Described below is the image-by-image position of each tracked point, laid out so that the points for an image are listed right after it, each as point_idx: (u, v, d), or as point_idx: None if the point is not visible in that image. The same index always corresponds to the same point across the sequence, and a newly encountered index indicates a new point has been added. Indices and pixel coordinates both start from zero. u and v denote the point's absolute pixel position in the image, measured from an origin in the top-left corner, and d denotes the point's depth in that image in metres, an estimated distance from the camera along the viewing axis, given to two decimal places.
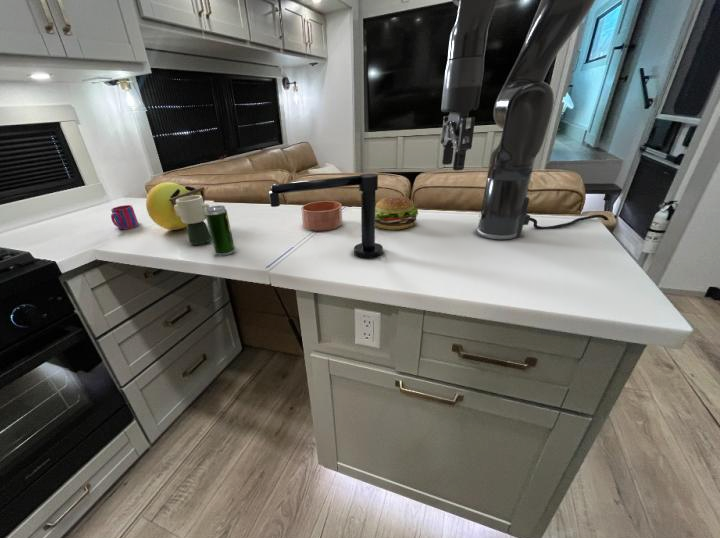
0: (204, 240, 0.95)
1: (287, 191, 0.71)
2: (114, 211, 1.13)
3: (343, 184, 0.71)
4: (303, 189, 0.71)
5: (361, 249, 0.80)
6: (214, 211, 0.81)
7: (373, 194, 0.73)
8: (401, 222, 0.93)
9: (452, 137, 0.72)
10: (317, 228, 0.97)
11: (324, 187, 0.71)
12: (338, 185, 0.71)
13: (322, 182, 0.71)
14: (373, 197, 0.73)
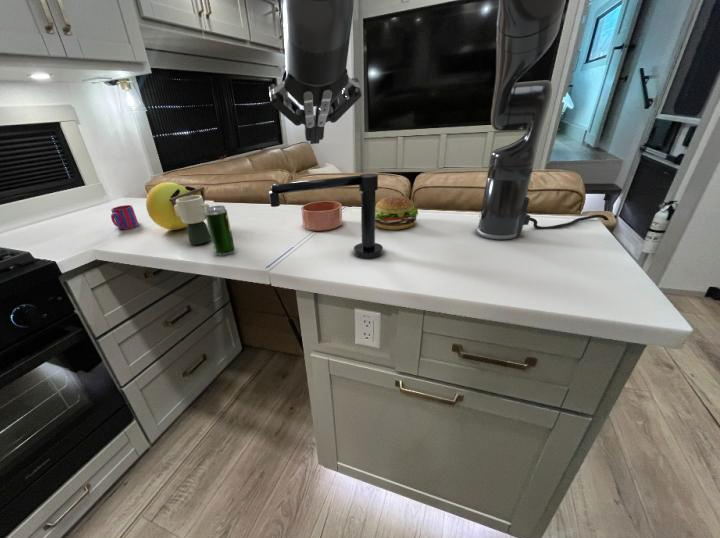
0: (204, 240, 0.95)
1: (287, 191, 0.71)
2: (114, 211, 1.13)
3: (343, 184, 0.71)
4: (303, 189, 0.71)
5: (361, 249, 0.80)
6: (214, 211, 0.81)
7: (373, 194, 0.73)
8: (401, 222, 0.93)
9: None
10: (317, 228, 0.97)
11: (324, 187, 0.71)
12: (338, 185, 0.71)
13: (322, 182, 0.71)
14: (373, 197, 0.73)
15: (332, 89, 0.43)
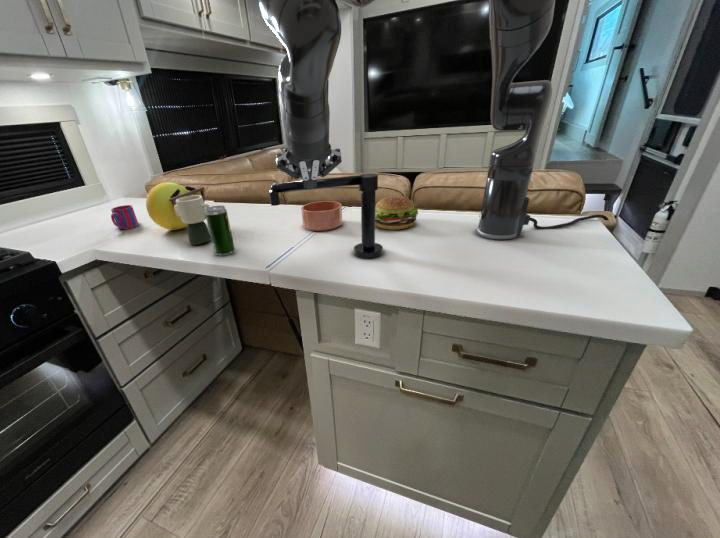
0: (204, 240, 0.95)
1: (287, 190, 0.71)
2: (114, 211, 1.13)
3: (343, 184, 0.72)
4: (303, 188, 0.71)
5: (361, 249, 0.80)
6: (214, 211, 0.81)
7: (373, 194, 0.73)
8: (401, 222, 0.93)
9: None
10: (317, 228, 0.97)
11: (324, 187, 0.72)
12: (338, 185, 0.72)
13: (322, 182, 0.71)
14: (373, 197, 0.73)
15: (320, 158, 0.61)
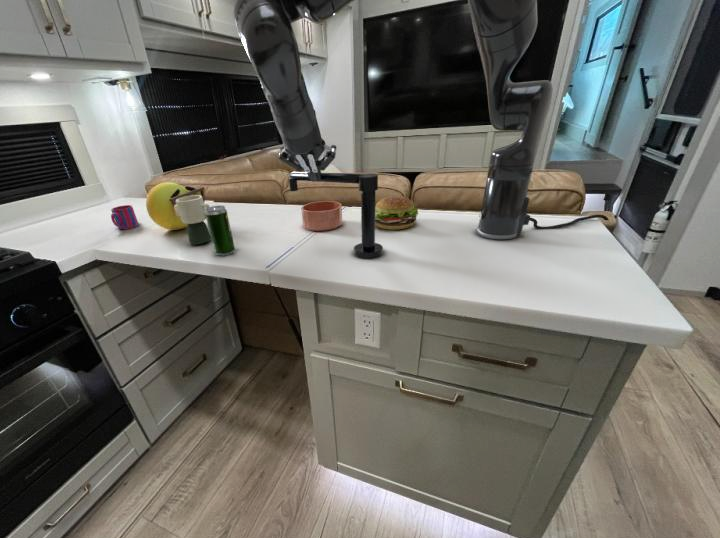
0: (204, 240, 0.95)
1: (300, 179, 0.81)
2: (114, 211, 1.13)
3: (343, 180, 0.75)
4: None
5: (361, 249, 0.80)
6: (214, 211, 0.81)
7: (373, 194, 0.73)
8: (401, 222, 0.93)
9: None
10: (317, 228, 0.97)
11: (328, 180, 0.77)
12: (339, 181, 0.75)
13: (326, 176, 0.77)
14: (373, 197, 0.73)
15: (314, 153, 0.68)
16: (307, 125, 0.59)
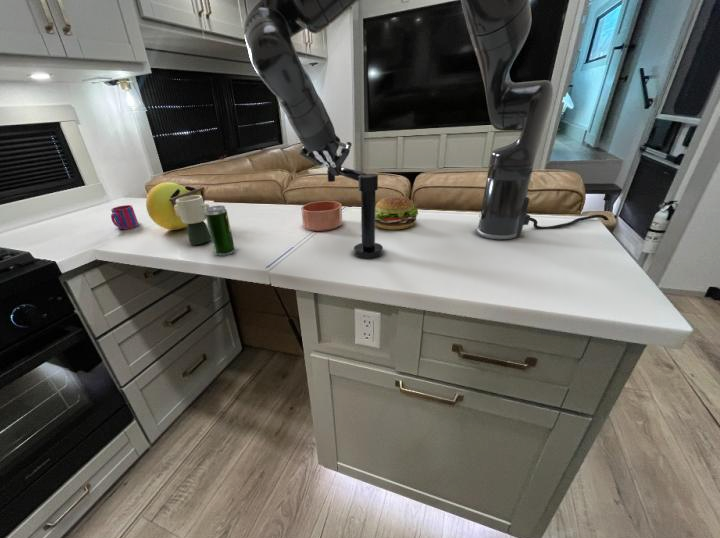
0: (204, 240, 0.95)
1: None
2: (114, 211, 1.13)
3: (352, 177, 0.77)
4: None
5: (361, 249, 0.80)
6: (214, 211, 0.81)
7: (373, 194, 0.73)
8: (401, 222, 0.93)
9: None
10: (317, 228, 0.97)
11: (345, 176, 0.81)
12: (351, 177, 0.78)
13: (344, 171, 0.80)
14: (373, 197, 0.73)
15: (330, 149, 0.72)
16: (316, 124, 0.64)
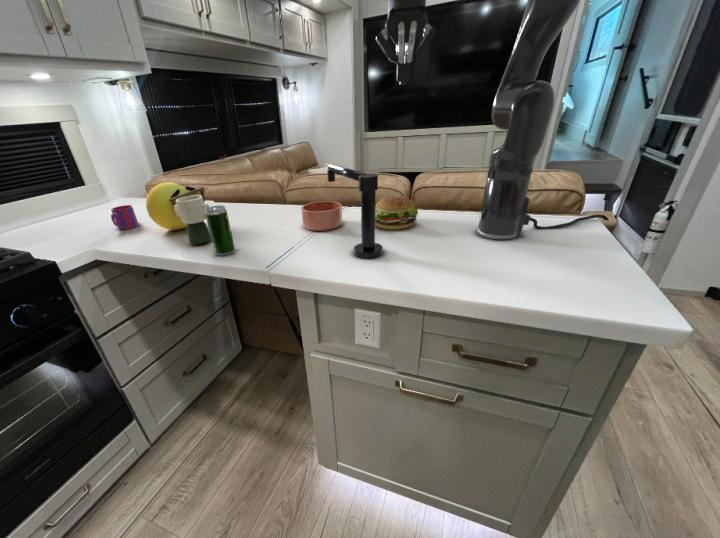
0: (204, 240, 0.95)
1: (332, 171, 0.87)
2: (114, 211, 1.13)
3: (352, 177, 0.77)
4: (337, 173, 0.84)
5: (361, 249, 0.80)
6: (214, 211, 0.81)
7: (373, 194, 0.73)
8: (401, 222, 0.93)
9: None
10: (317, 228, 0.97)
11: (345, 176, 0.81)
12: (351, 177, 0.78)
13: (344, 171, 0.80)
14: (373, 197, 0.73)
15: (416, 25, 0.68)
16: None
